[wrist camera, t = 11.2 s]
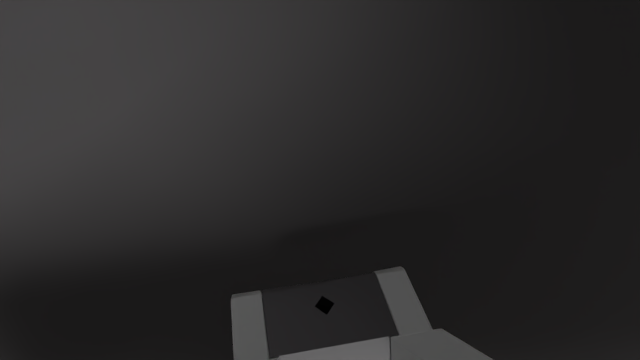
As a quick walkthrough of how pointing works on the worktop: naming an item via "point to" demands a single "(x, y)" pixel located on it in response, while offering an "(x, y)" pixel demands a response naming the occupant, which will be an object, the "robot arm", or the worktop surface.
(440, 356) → the robot arm
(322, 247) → the worktop surface
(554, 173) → the worktop surface
